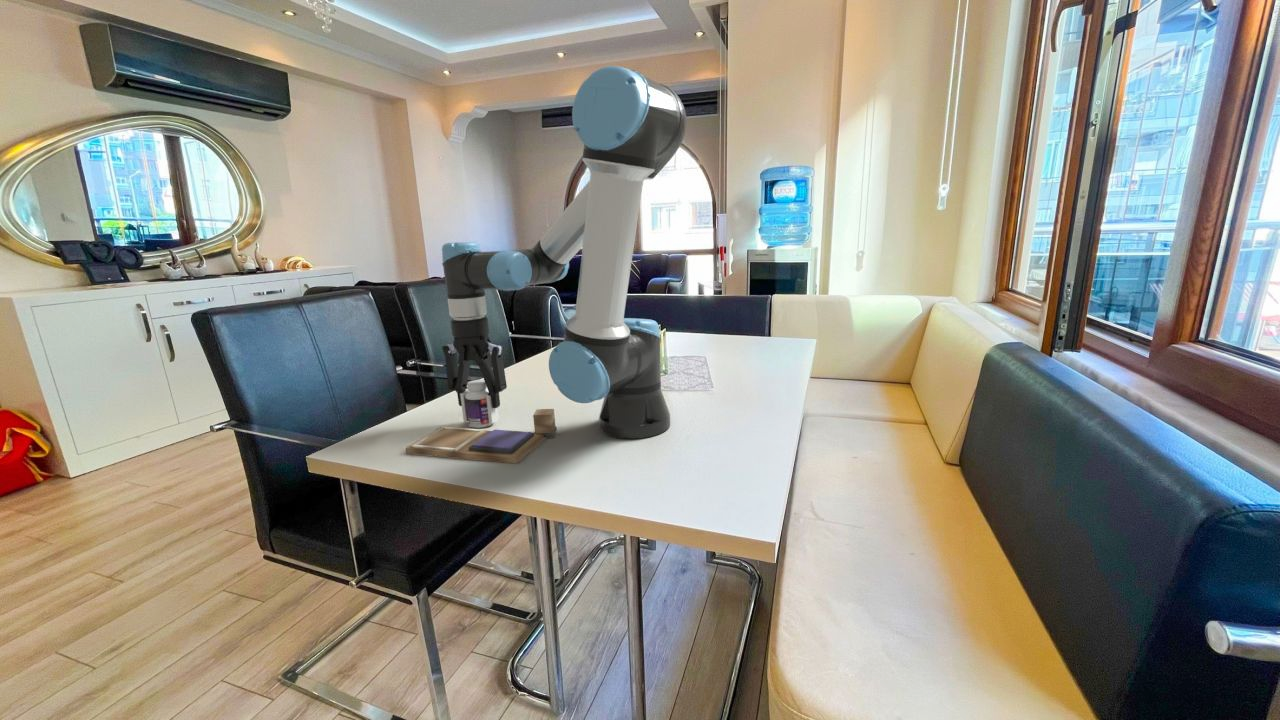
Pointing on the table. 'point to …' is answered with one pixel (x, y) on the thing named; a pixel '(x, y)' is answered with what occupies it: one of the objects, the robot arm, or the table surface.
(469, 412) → the pill bottle
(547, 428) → the stamp block
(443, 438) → the board
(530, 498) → the table surface
